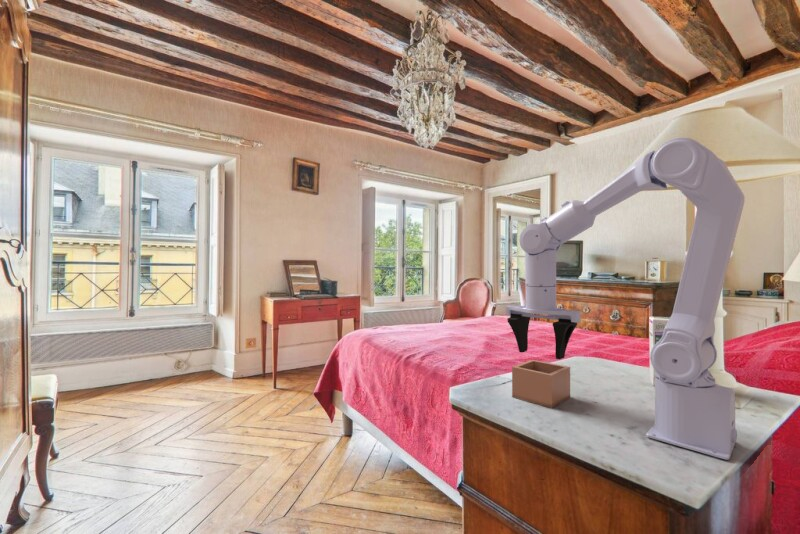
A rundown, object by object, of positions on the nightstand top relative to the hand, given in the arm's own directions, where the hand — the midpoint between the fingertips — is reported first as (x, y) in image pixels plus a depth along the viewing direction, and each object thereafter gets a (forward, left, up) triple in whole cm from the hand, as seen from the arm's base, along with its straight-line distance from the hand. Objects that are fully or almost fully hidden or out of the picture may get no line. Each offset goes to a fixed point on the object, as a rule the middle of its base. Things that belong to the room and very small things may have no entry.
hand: (540, 354), depth 74 cm
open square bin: (0, 0, -8) cm, 8 cm away
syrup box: (-15, -27, -9) cm, 32 cm away
